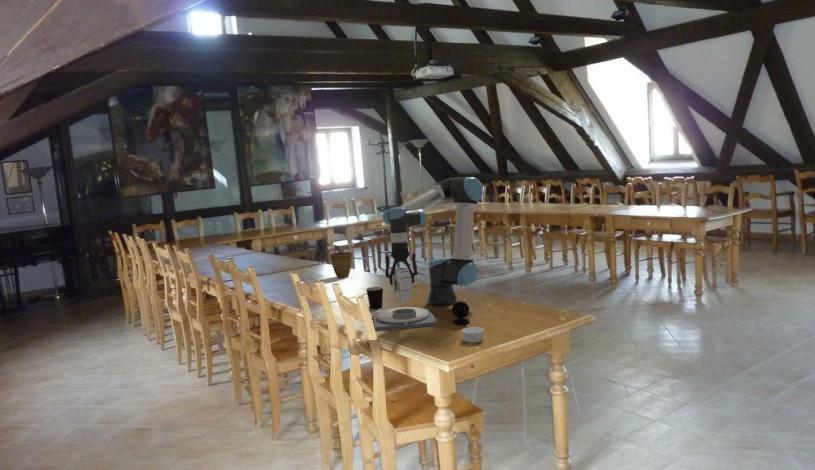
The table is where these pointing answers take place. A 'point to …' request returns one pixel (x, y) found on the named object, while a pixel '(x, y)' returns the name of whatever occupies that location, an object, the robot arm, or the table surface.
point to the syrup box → (402, 284)
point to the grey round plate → (403, 315)
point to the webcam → (460, 313)
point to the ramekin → (473, 334)
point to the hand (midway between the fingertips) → (402, 291)
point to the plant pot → (341, 263)
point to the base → (385, 326)
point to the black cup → (375, 297)
